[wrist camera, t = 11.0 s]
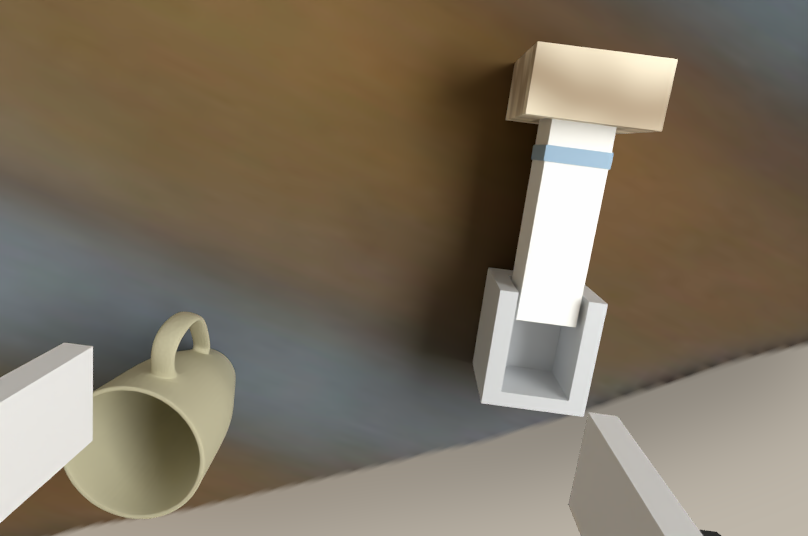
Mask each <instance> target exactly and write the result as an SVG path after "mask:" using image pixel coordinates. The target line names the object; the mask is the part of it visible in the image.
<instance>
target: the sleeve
mask: <svg viewBox="0 0 808 536" xmlns="http://www.w3.org/2000/svg"><path fill="white" fill-rule="evenodd" d="M512 275H513V270H506V269H498V268H491V267H488V272H487V278H486V284H485V290H484V296H483V302H482V309H481V315H480V321H479V327H478V333H477V339H476V345H475V351H474V357H473V363H472V364H473V368H474V373H475V377H476V382H477V386H478V391H479V395H480V400H481V403H484V404H492V405H499V406H507V407H514V408H522V409H529V410H537V411H544V412H552V413H559V414H567V415H574V416H582V417H584V412H585V408H586V403H587V399H588V394H589V389H590V385H591V380H592V375H593V371H594V366H595V361H596V357H597V352H598V348H599V343H600V338H601V334H602V329H603V324H604V320H605V315H606V310H607V306H608V304H607V303H606V302H605V301H603V300H602V299H601V298H600V297H599V296H598V295H596V294H595V293H594V292H593V291H592V290H591V289H589V288H588V287H587V286H586V285H584V290H583V295H582V300H581V305H580V310H579V315H578V319H577V324H576V327H568V326H561V325H553V324H546V323H538V322H531V321H523V320H516V318H515V312H516V306H517V300H518V295H519V292H518V291H517V289H516V287H515V286H514V284H513V283H512Z"/></svg>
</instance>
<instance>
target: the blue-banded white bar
mask: <svg viewBox="0 0 808 536" xmlns="http://www.w3.org/2000/svg"><path fill="white" fill-rule="evenodd" d="M616 129H617V127H612V126H605V125H597V124H589V123H581V122H574V121H566V120H558V119H550V118H542V119H540V120H539V126H538V132H537V137H536V143H535V145H533V150H532V156H531V159H533V160H532V166H531V172H530V177H529V183H528V189H527V195H526V200H525V206H524V212H523V218H522V223H521V229H520V235H519V241H518V246H517V252H516V258H515V263H514V269H513V275H512V283H513V284H514V286H515V287H516V289H517V291H518V292H519V295H518V300H517V306H516V312H515V318H516V320H523V321H531V322H538V323H546V324H553V325H561V326H568V327H576V324H577V319H578V315H579V310H580V305H581V300H582V295H583V290H584V285H585V280H586V275H587V271H588V266H589V261H590V256H591V251H592V246H593V241H594V236H595V231H596V227H597V222H598V217H599V212H600V207H601V202H602V197H603V192H604V187H605V183H606V178H607V173H608V169H611V164H612V159H613V154H614V153H612V148H613V143H614V138H615V134H616Z"/></svg>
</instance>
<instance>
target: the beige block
mask: <svg viewBox="0 0 808 536" xmlns="http://www.w3.org/2000/svg"><path fill="white" fill-rule="evenodd" d="M677 61H678V59H672V58H664V57H656V56H648V55H640V54H633V53H625V52H617V51H609V50H601V49H594V48H586V47H578V46H570V45H562V44H555V43H547V42H539V41H538V42H537V43H535V44H534V45H533V46H532V47H531V48H530V49H529V50H528V51H527V52H526V53H525V54H523V55H522V56H521V57H520V58H519V59H518V60H517V61H516V62H515V64H514V70H513V76H512V83H511V89H510V95H509V101H508V107H507V114H506V120H508V121H516V122H524V123H531V124H539V120H540V119H542V118H550V119H558V120H566V121H574V122H581V123H589V124H597V125H605V126H612V127H617V129H616V134H627V133H643V132H659V131H662V128H663V124H664V119H665V115H666V110H667V106H668V101H669V97H670V92H671V88H672V83H673V79H674V74H675V70H676V65H677Z"/></svg>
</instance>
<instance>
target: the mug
mask: <svg viewBox="0 0 808 536" xmlns="http://www.w3.org/2000/svg"><path fill="white" fill-rule="evenodd" d="M189 328H190V331H191V334H192V338H193V349H191V350H184V351H178V352H176V351H177V348H178V345H179V343H180V341H181V339H182V337H183V336H184V334H185V333H186V331H187V330H188V329H189ZM234 392H235V371H234V368H233V366H232V364H231V362H230V361H229V360H228V359H227V357H225V356H224V355H223V354H222V353H220V352H218V351H216V350H213V349H210V340H209V334H208V330H207V326H206V323H205V321H204V319H203V318H202V317H201V316H199V315H197V314H194V313H191V312H179V313H177V314H175V315H173V316H172V317H170V318H169V319H168V320H167V321H166V322H165V323H164V324H163V325H162V326H161V328H160V329H159V331H158V332H157V335H156V337H155V339H154V342H153V346H152V350H151V359H149V360H146V361H144V362H142V363H140V364H138V365H136V366H135V367H133V368H131V369H129V370H128V371H126V372H124V373H123V374H121V375H119V376H118V377H116V378H114V379H113V380H111V381H110V382H108V383H106V384H105V385H103V386H101V387H100V388H98V389H96V390H95V391H93V441H92V442H91V443H89V444H88V445H87V446H86V447H85V448H84V449H83V450H82V451H80V452H79V453H78V454H77V455H76V456H75V457H74V458H73V459H71V460H70V461H69V462H68V463H67V464H66V465H65V466H64V469H65V472H66V474H67V476H68V477H69V479H70V481H71V482H72V484H73V485H74V486H75V488H76V489H77V490H78V491H79V492H80V493H81V494H82V495H83V496H84V497H85V498H86V499H87V500H88V501H90V502H91V503H93V504H94V505H96V506H97V507H99V508H101V509H103V510H105V511H107V512H109V513H112V514H114V515H118V516H122V517H125V518H133V519H149V518H155V517H160V516H163V515H166V514H168V513H171V512H173V511H175V510H177V509H178V508H180V507H181V506H182V505H184V504H185V503H186V502H187V501H188V500H189V499H190V498H191V497H192V496H193V494H194V493H195V491H196V490H197V488H198V487H199V485H200V483H201V481H202V479H203V477H204V475H205V473H206V472H207V470H208V468H209V466H210V464H211V462H212V460H213V459H214V457H215V455H216V453H217V451H218V449H219V447H220V445H221V443H222V441H223V439H224V437H225V435H226V433H227V430H228V427H229V424H230V421H231V417H232V412H233V405H234Z"/></svg>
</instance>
